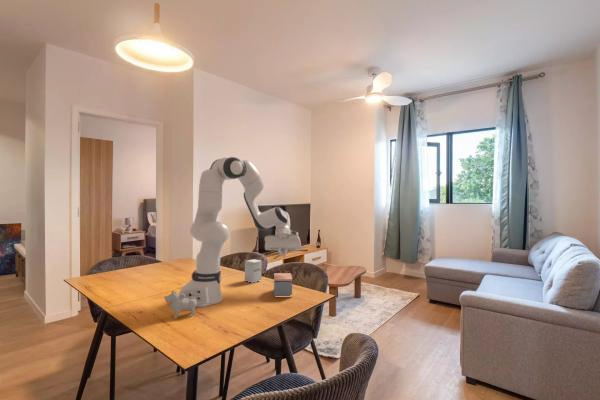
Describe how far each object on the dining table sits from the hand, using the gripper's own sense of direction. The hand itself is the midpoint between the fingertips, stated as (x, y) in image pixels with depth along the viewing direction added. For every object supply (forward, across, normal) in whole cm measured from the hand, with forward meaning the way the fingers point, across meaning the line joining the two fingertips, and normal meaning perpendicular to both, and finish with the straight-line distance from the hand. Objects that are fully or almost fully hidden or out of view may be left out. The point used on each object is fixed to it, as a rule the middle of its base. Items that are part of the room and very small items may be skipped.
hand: (283, 256), depth 163 cm
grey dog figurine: (+36, -44, -9) cm, 58 cm away
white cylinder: (-1, -17, +29) cm, 34 cm away
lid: (+10, 0, +6) cm, 11 cm away
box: (+16, 0, +12) cm, 20 cm away
